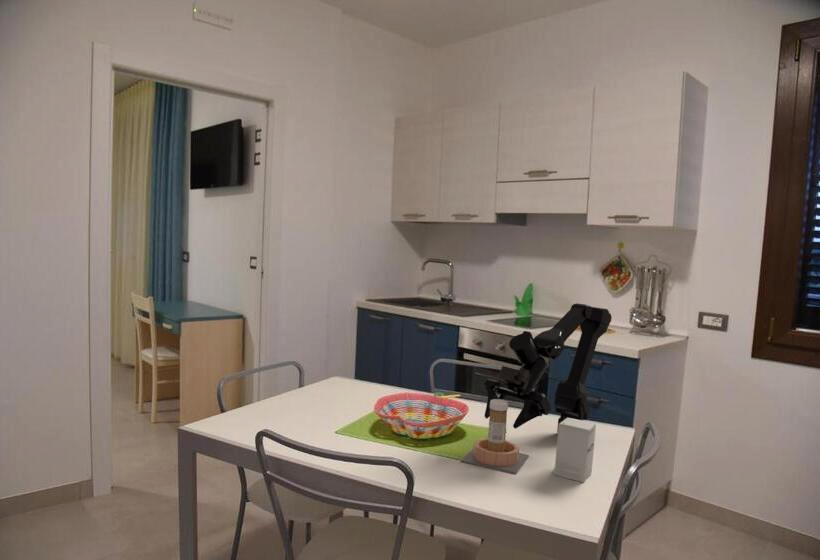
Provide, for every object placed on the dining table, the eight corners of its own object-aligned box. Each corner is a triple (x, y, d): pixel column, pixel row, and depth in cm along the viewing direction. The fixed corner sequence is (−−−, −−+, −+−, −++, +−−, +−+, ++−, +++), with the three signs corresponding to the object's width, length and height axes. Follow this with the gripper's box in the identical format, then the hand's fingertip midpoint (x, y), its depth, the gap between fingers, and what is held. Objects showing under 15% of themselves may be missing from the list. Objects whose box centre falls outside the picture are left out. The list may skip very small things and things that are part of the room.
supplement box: (584, 483, 134) (588, 430, 133) (553, 474, 138) (557, 423, 137) (592, 473, 140) (597, 422, 140) (562, 466, 144) (566, 416, 144)
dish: (529, 456, 149) (530, 443, 149) (516, 474, 137) (517, 460, 136) (477, 445, 155) (478, 433, 155) (460, 461, 142) (461, 448, 142)
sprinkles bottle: (506, 451, 147) (510, 400, 146) (502, 457, 143) (506, 404, 142) (488, 448, 149) (492, 397, 148) (484, 454, 145) (488, 401, 144)
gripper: (489, 348, 155) (458, 394, 148) (548, 362, 141) (517, 413, 135) (505, 374, 161) (476, 419, 154) (563, 389, 147) (534, 440, 140)
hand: (499, 422), depth 146 cm, fingers open, 9 cm apart
